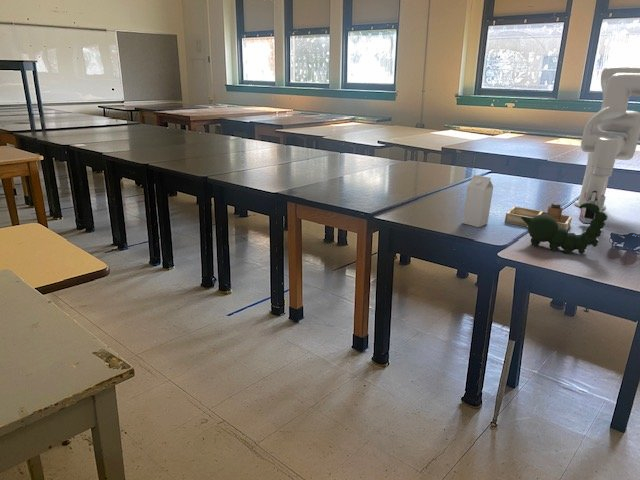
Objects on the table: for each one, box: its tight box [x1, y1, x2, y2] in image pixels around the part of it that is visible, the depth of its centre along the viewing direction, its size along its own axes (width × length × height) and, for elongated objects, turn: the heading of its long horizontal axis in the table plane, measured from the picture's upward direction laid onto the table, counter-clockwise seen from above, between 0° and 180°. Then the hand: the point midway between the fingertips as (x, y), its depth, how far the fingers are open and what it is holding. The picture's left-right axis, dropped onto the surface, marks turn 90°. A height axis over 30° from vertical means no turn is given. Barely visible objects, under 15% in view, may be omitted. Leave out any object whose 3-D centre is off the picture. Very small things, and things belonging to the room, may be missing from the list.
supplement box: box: [578, 192, 607, 225], centre depth 186 cm, size 6×6×12 cm
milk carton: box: [461, 173, 494, 228], centre depth 185 cm, size 7×7×19 cm
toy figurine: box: [521, 203, 608, 255], centre depth 162 cm, size 9×19×25 cm
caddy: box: [504, 202, 573, 231], centre depth 189 cm, size 13×22×9 cm, turn 56°
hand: (590, 215), depth 187 cm, fingers closed on supplement box, 7 cm apart
